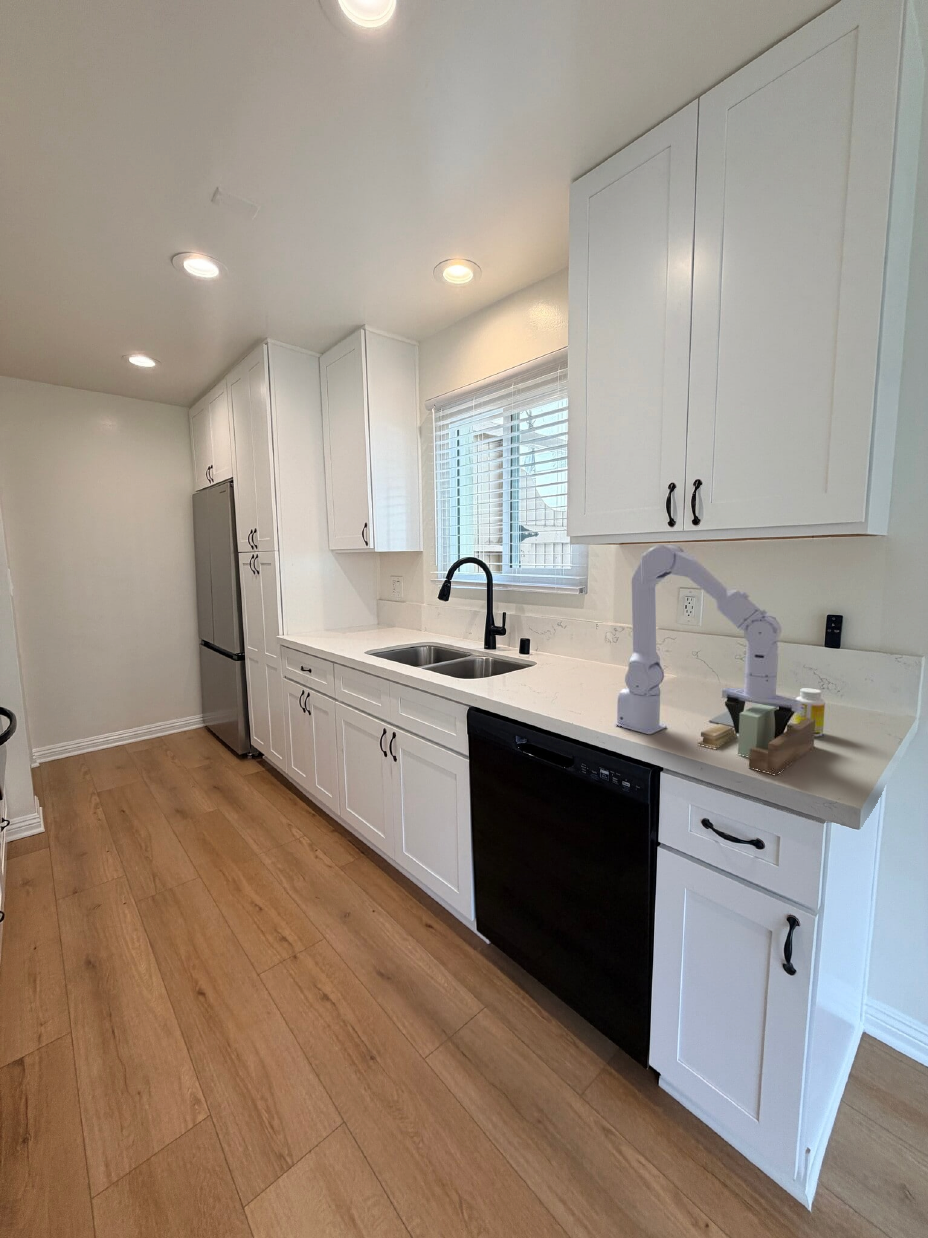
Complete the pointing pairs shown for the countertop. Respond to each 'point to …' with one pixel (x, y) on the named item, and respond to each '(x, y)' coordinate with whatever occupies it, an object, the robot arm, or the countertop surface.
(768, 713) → the tall sage green prism
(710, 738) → the offcut stack
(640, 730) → the robot arm
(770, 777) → the countertop surface
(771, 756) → the walnut rack
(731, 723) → the slate mat
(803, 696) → the supplement bottle
